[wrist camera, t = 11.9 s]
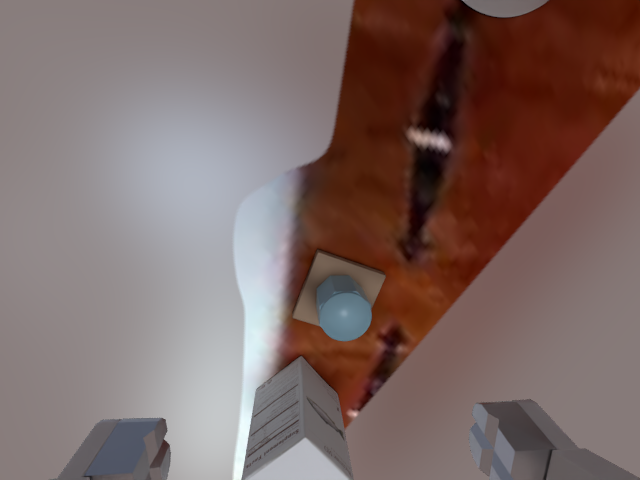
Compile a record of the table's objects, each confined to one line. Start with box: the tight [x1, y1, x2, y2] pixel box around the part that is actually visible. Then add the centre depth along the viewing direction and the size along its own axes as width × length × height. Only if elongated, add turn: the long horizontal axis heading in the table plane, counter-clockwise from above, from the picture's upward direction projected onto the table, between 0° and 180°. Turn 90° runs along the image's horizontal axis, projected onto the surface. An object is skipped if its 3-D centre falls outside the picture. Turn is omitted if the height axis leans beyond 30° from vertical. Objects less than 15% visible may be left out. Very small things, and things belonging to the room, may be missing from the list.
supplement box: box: [242, 356, 354, 480], centre depth 36 cm, size 7×7×13 cm
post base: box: [293, 249, 386, 338], centre depth 37 cm, size 8×8×4 cm
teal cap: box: [316, 275, 372, 341], centre depth 36 cm, size 5×5×5 cm
